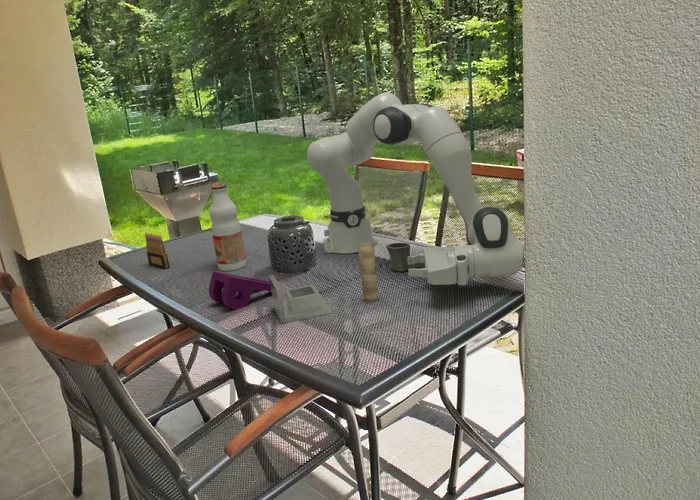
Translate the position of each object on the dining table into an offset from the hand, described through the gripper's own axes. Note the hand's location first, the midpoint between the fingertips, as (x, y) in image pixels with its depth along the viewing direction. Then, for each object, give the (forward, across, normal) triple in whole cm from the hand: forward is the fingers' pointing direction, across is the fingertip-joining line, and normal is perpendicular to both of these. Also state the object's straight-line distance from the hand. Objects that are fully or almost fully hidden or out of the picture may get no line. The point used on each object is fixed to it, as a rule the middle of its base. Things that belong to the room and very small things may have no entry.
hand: (407, 266), depth 157 cm
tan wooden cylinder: (+10, 0, +8) cm, 13 cm away
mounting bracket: (+46, -7, +9) cm, 47 cm away
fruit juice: (+58, -38, +9) cm, 70 cm away
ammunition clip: (+86, -45, +9) cm, 97 cm away
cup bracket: (+28, +4, +8) cm, 30 cm away
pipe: (0, -22, +9) cm, 23 cm away
